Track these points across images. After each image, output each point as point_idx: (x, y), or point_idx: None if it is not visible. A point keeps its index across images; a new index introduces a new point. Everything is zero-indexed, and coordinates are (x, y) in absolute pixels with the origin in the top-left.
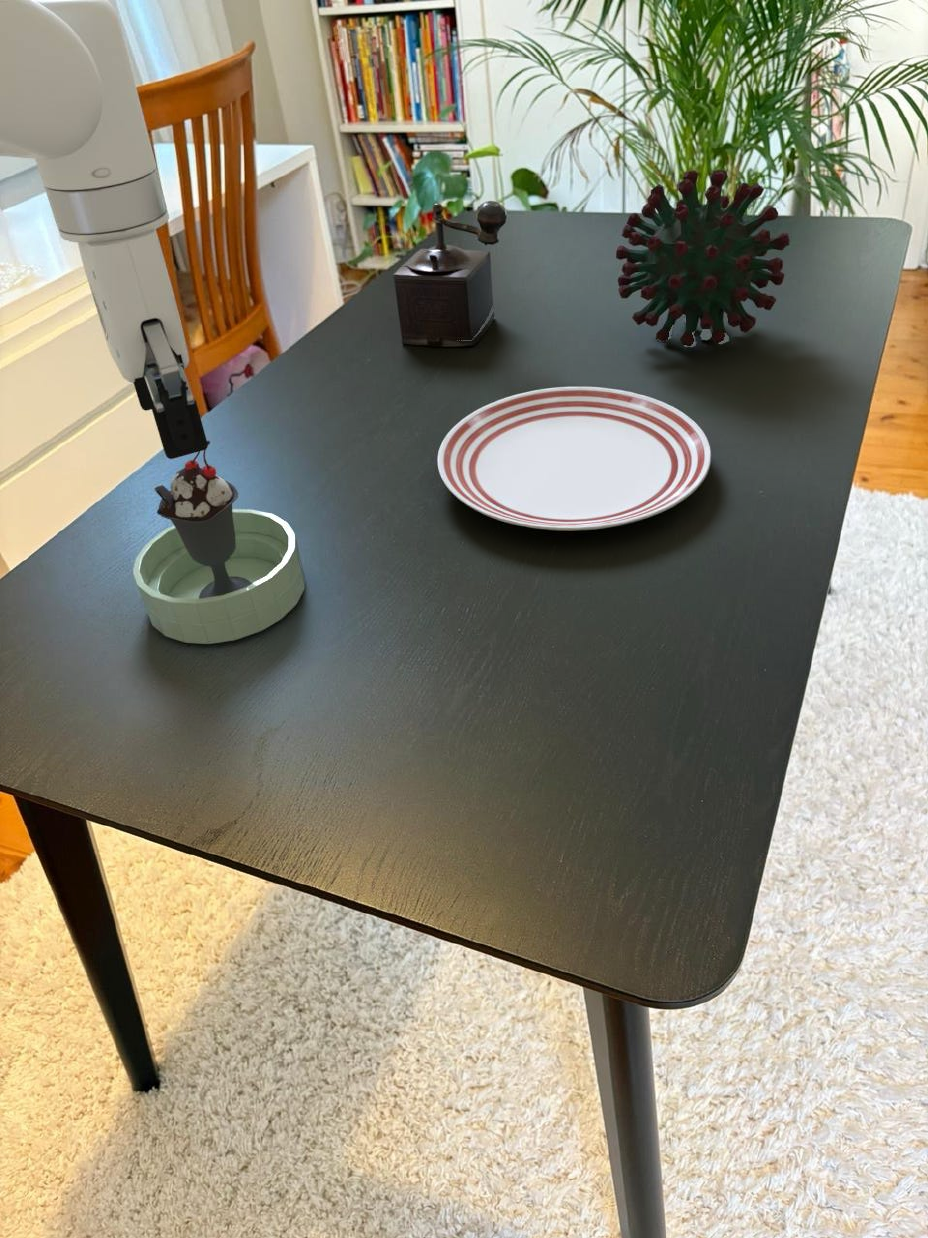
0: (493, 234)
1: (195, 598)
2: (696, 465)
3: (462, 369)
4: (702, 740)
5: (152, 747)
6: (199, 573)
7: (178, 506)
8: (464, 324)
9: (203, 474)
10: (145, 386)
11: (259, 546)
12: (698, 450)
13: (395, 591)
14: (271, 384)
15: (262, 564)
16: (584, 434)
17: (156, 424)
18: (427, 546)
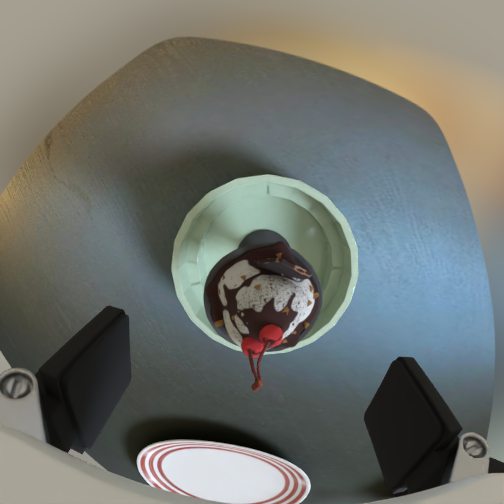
0: None
1: (280, 229)
2: None
3: (381, 481)
4: (20, 360)
5: (126, 125)
6: (317, 251)
7: (246, 270)
8: (399, 496)
9: (248, 337)
10: (406, 408)
11: None
12: None
13: (174, 359)
14: (483, 396)
15: None
16: (247, 494)
17: (73, 349)
18: (212, 402)
